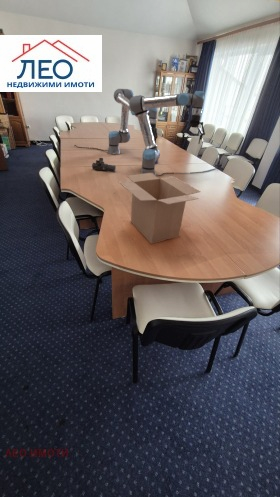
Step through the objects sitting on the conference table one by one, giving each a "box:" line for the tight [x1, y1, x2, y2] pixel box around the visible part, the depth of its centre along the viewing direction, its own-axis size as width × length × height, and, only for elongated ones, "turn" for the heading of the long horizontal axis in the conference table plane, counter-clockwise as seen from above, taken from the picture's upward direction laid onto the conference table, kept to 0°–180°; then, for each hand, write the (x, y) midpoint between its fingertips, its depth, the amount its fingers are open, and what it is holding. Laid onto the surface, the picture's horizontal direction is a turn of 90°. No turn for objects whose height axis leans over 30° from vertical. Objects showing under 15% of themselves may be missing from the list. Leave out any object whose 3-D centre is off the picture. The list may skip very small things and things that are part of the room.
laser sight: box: [91, 157, 117, 173], centre depth 211 cm, size 10×22×10 cm, turn 78°
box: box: [117, 173, 201, 245], centre depth 124 cm, size 44×36×27 cm
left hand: (151, 146), depth 235 cm, fingers open, 13 cm apart
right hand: (190, 142), depth 191 cm, fingers open, 13 cm apart
